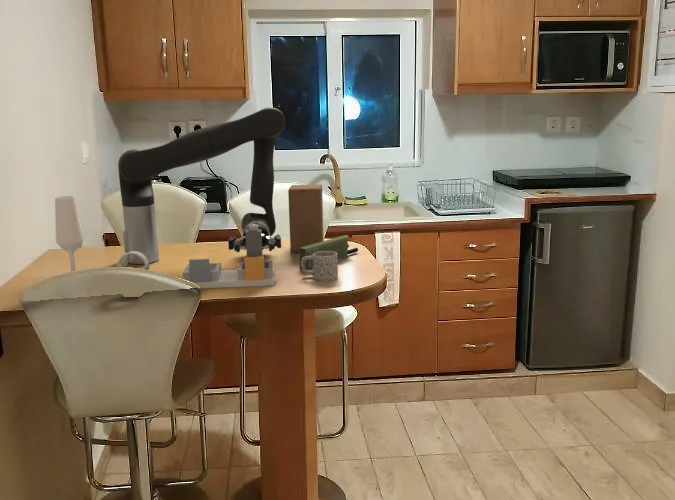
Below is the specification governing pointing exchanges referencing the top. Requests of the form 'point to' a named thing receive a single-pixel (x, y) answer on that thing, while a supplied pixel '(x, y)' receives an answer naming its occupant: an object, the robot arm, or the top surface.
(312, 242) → the wooden block
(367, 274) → the top surface
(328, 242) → the handheld radio
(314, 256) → the mug
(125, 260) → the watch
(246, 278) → the charging dock
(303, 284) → the top surface
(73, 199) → the champagne flute
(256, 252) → the plug
